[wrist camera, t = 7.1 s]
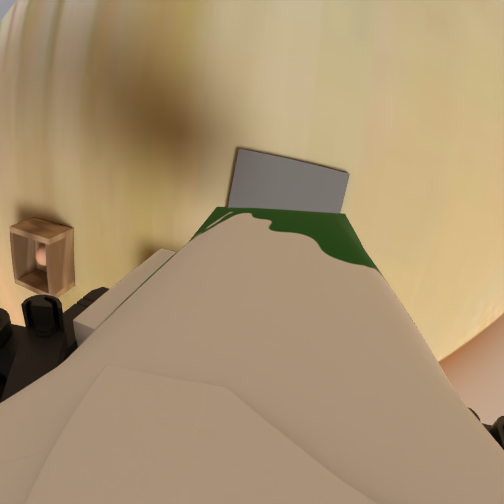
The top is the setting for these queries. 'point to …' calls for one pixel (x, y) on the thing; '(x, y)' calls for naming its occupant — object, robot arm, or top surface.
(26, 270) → the crate
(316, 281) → the soya milk
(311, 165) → the coaster
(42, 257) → the ball
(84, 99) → the top surface
